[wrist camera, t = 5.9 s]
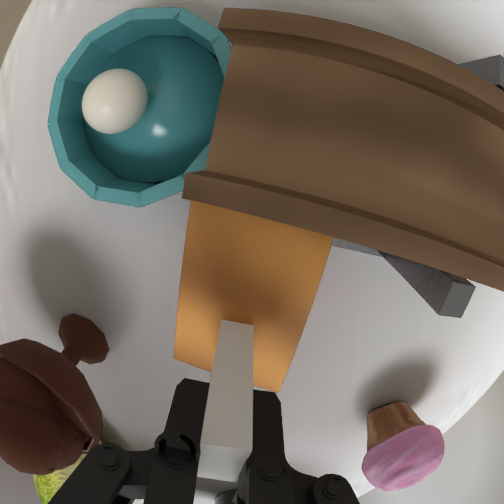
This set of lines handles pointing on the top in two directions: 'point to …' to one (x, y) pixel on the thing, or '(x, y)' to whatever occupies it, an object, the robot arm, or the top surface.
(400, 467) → the cupcake
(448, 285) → the chute stand
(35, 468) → the ice cream bowl
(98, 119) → the ball
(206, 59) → the teal bowl
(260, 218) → the chute
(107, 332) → the top surface
